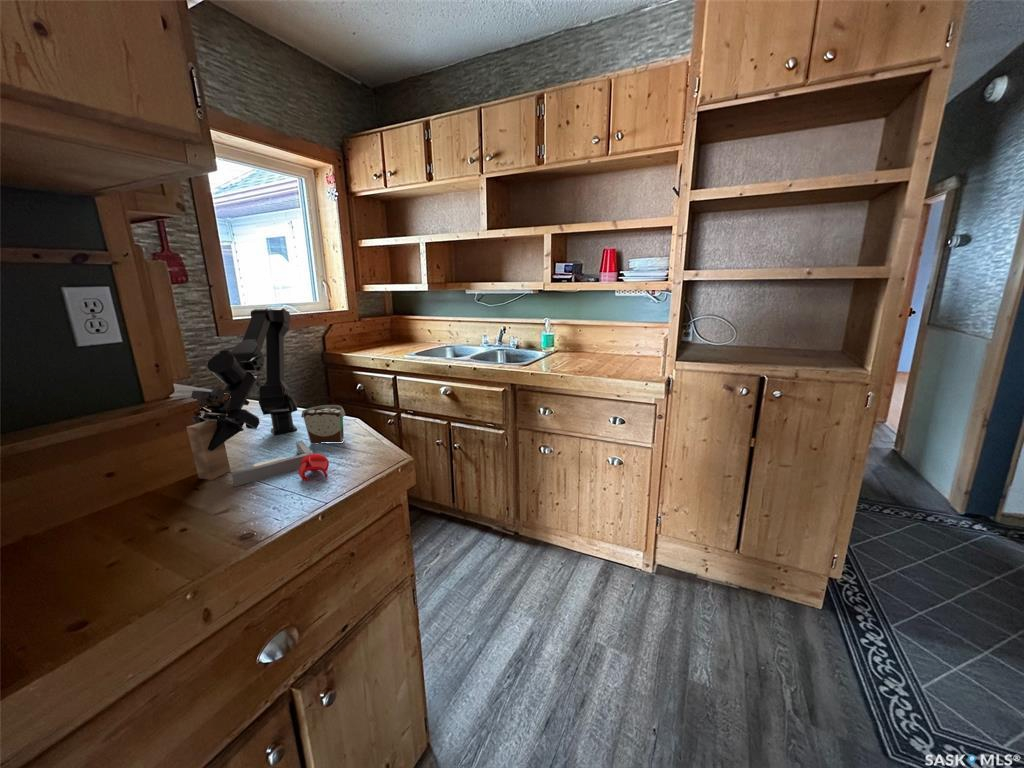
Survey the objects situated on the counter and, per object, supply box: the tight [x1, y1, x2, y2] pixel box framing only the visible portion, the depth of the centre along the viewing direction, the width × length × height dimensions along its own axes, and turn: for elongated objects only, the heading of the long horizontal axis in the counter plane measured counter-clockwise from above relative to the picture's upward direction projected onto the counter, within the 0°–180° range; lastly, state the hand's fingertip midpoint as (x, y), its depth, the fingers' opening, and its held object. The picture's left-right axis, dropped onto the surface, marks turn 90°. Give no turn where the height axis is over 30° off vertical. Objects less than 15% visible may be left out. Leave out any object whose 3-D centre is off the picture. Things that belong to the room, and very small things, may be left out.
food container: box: [301, 404, 346, 444], centre depth 119 cm, size 12×6×10 cm, turn 84°
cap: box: [297, 453, 330, 482], centre depth 96 cm, size 8×6×6 cm
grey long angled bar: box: [230, 440, 314, 488], centre depth 103 cm, size 12×17×3 cm
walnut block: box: [186, 420, 231, 481], centre depth 99 cm, size 4×5×13 cm
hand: (202, 449), depth 97 cm, fingers closed on walnut block, 4 cm apart
